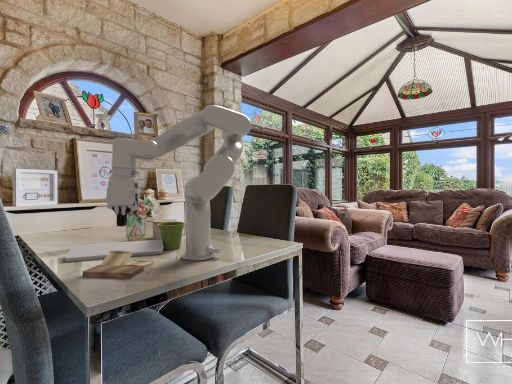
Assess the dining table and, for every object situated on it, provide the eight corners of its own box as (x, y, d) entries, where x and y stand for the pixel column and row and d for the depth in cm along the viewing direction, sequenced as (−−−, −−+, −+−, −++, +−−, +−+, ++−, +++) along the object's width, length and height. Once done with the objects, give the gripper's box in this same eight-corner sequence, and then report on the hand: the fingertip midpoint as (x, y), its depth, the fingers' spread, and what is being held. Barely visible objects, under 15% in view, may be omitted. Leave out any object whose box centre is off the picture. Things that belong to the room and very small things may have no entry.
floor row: (143, 270, 90) (143, 266, 90) (130, 278, 82) (130, 273, 82) (99, 269, 92) (99, 264, 91) (82, 276, 84) (82, 271, 84)
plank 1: (132, 254, 97) (130, 250, 96) (121, 269, 91) (119, 265, 90) (112, 254, 98) (110, 250, 97) (101, 268, 92) (99, 264, 91)
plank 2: (154, 266, 97) (154, 261, 97) (143, 270, 90) (144, 264, 90) (134, 265, 98) (134, 260, 98) (122, 269, 91) (123, 264, 91)
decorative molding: (162, 260, 113) (162, 249, 122) (162, 250, 112) (162, 239, 121) (66, 269, 101) (73, 256, 110) (65, 258, 100) (72, 245, 109)
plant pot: (152, 248, 122) (152, 223, 122) (176, 244, 131) (175, 221, 131) (166, 252, 114) (166, 226, 114) (190, 247, 123) (190, 223, 123)
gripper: (149, 175, 98) (147, 225, 98) (110, 173, 100) (108, 223, 100) (138, 173, 91) (136, 228, 91) (96, 172, 92) (94, 226, 92)
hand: (121, 225), depth 95 cm, fingers closed
